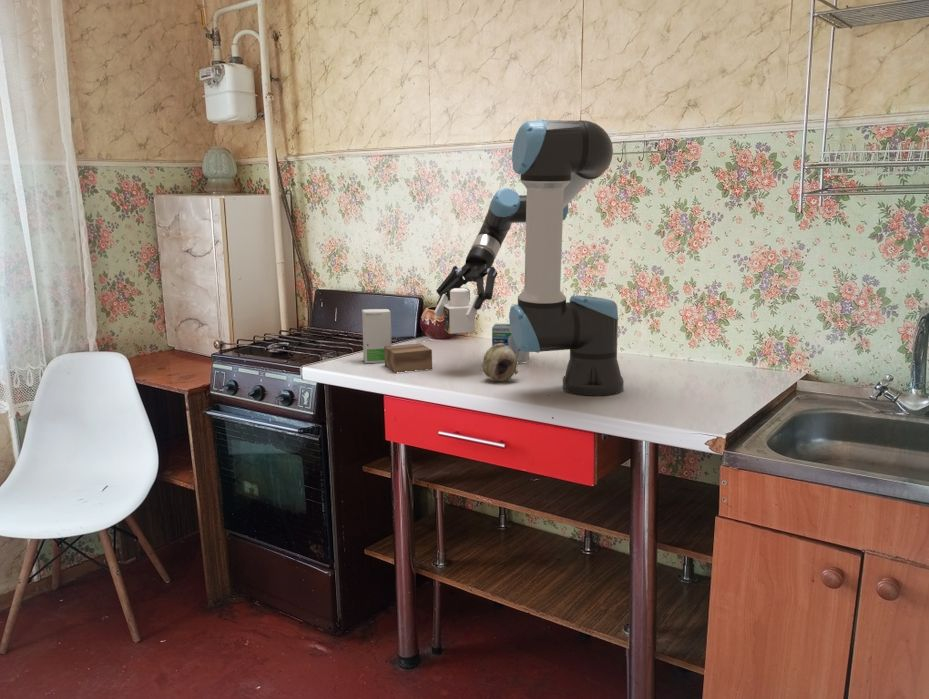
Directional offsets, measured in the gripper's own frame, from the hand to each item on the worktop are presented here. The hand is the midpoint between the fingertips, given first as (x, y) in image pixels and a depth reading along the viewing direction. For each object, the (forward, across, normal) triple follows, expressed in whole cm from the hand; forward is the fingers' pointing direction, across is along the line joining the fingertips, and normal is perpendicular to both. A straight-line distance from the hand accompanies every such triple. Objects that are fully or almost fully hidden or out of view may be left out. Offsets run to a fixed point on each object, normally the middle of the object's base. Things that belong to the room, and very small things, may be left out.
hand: (452, 316), depth 203 cm
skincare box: (+8, +31, -15) cm, 36 cm away
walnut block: (+10, +18, -13) cm, 24 cm away
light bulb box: (-6, -4, -29) cm, 30 cm away
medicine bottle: (+1, 0, -6) cm, 6 cm away
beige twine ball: (+11, -14, -13) cm, 22 cm away
